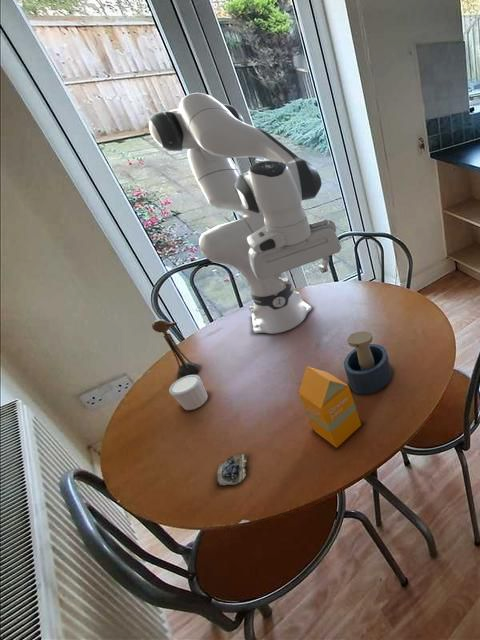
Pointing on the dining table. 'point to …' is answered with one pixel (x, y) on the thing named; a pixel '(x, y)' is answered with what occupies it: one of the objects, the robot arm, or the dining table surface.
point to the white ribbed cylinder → (189, 392)
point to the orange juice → (329, 406)
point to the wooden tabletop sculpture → (185, 367)
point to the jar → (368, 371)
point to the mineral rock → (232, 470)
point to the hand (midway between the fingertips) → (306, 278)
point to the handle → (362, 349)
